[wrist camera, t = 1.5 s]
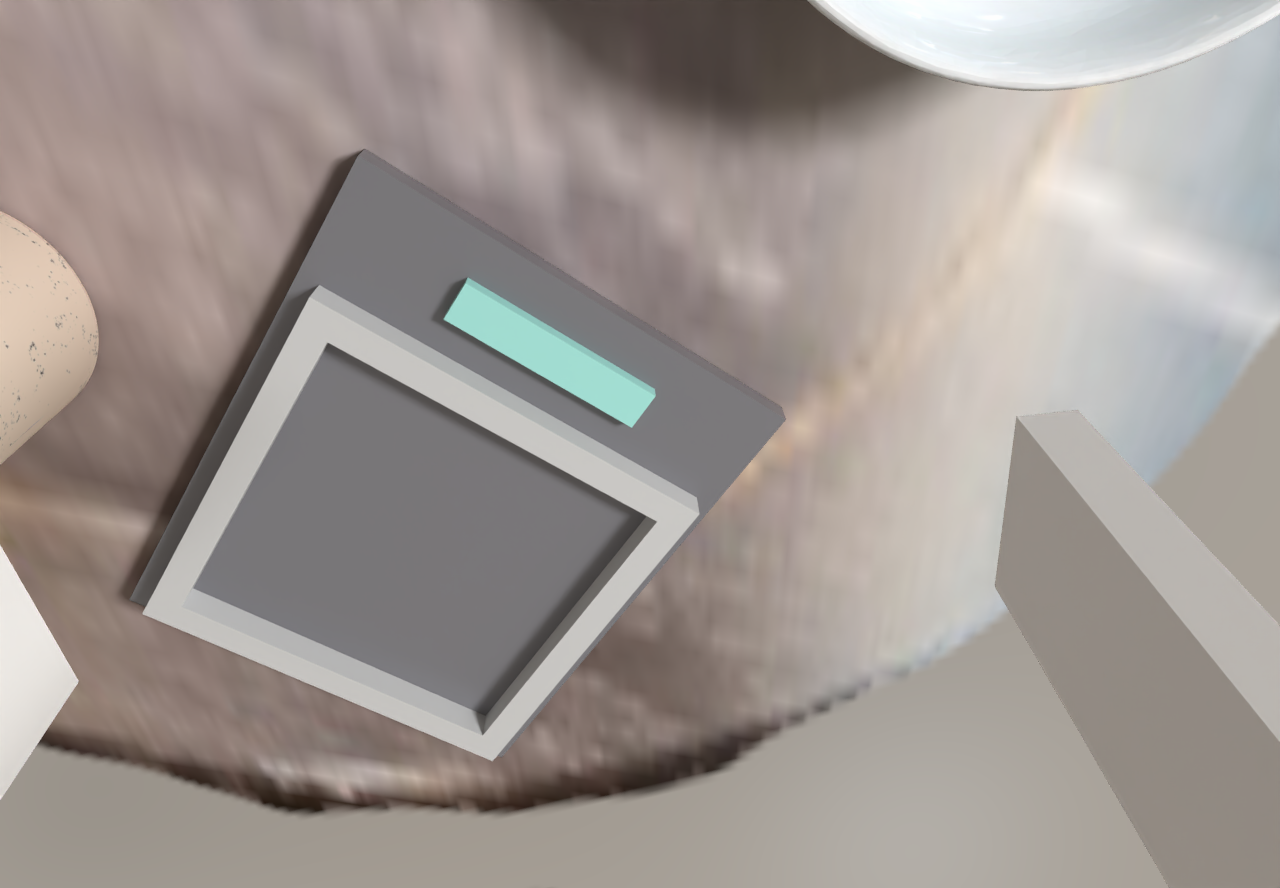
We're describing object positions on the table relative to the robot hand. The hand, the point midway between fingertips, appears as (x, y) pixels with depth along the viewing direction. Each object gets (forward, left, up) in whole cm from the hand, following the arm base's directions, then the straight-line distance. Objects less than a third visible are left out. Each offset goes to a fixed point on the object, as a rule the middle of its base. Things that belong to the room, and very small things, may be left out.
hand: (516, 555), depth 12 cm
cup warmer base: (+3, -14, -22) cm, 27 cm away
